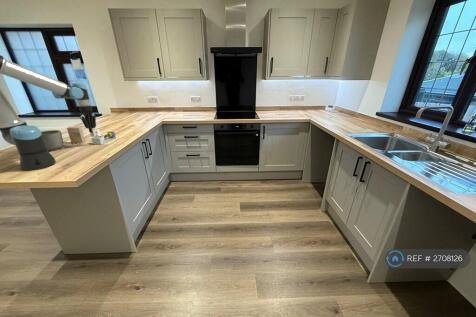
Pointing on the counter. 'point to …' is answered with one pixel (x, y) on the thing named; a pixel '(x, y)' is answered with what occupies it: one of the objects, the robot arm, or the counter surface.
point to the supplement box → (76, 134)
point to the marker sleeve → (99, 135)
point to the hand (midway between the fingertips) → (93, 136)
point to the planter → (52, 139)
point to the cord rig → (99, 140)
